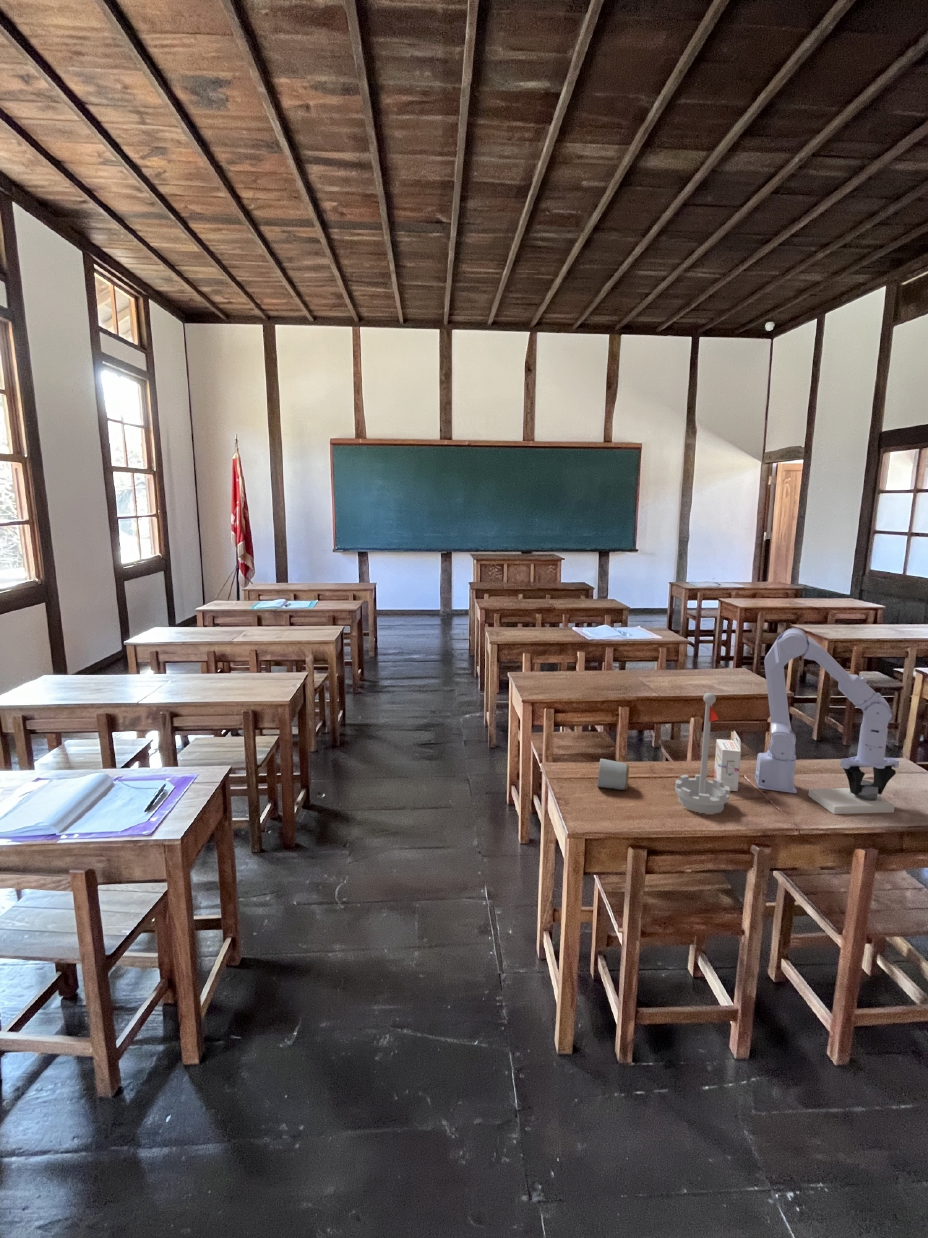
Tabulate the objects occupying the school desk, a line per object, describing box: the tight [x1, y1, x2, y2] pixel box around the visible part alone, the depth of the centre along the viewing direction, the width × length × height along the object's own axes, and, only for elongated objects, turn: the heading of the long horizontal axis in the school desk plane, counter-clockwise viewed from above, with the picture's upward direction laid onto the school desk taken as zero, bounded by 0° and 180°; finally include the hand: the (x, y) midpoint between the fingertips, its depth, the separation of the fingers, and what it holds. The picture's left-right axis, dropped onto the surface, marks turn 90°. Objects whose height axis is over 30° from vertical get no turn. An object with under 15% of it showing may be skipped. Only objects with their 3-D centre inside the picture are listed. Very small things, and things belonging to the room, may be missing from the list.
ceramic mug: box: [596, 758, 630, 790], centre depth 164 cm, size 11×8×8 cm
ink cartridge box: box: [713, 730, 742, 792], centre depth 165 cm, size 9×5×15 cm, turn 168°
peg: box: [855, 779, 879, 801], centre depth 155 cm, size 5×5×5 cm
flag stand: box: [674, 692, 730, 815], centre depth 152 cm, size 13×13×30 cm
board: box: [807, 787, 896, 815], centre depth 155 cm, size 16×10×2 cm, turn 94°
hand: (865, 793), depth 155 cm, fingers open, 6 cm apart
